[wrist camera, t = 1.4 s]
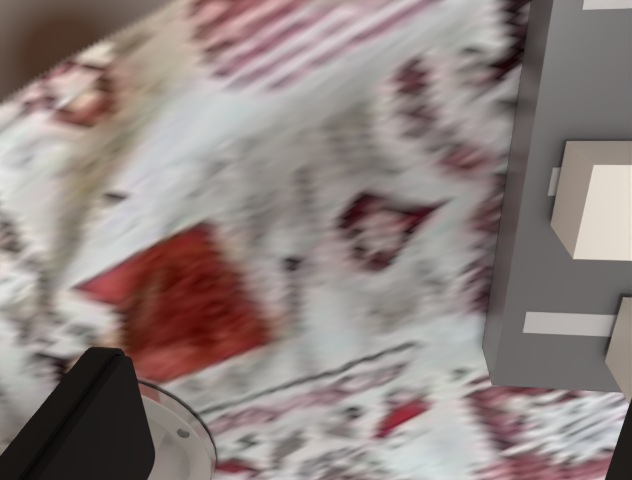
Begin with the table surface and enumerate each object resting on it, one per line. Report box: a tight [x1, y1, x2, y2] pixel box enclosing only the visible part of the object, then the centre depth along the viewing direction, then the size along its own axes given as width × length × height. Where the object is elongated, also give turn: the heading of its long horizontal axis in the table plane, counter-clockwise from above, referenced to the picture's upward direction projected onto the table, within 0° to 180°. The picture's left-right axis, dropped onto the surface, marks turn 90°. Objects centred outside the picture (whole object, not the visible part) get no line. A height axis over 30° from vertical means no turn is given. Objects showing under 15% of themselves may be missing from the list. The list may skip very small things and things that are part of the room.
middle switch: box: [550, 141, 632, 261], centre depth 19 cm, size 4×3×3 cm
